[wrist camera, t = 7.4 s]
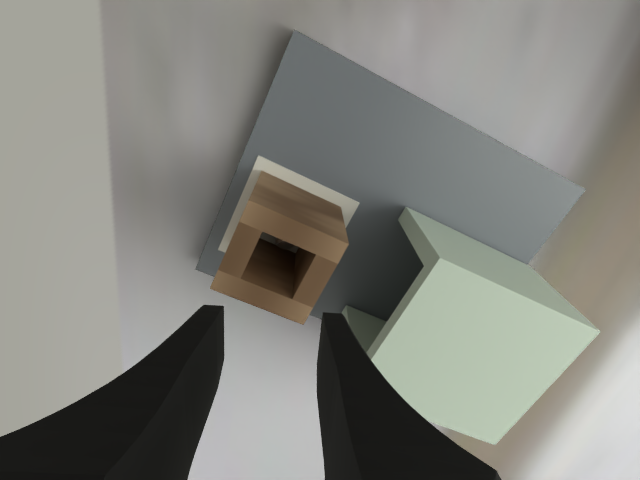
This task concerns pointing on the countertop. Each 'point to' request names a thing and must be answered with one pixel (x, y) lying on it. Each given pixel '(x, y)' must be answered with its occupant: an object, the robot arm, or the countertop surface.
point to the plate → (385, 176)
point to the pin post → (283, 244)
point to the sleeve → (281, 264)
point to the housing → (471, 333)
